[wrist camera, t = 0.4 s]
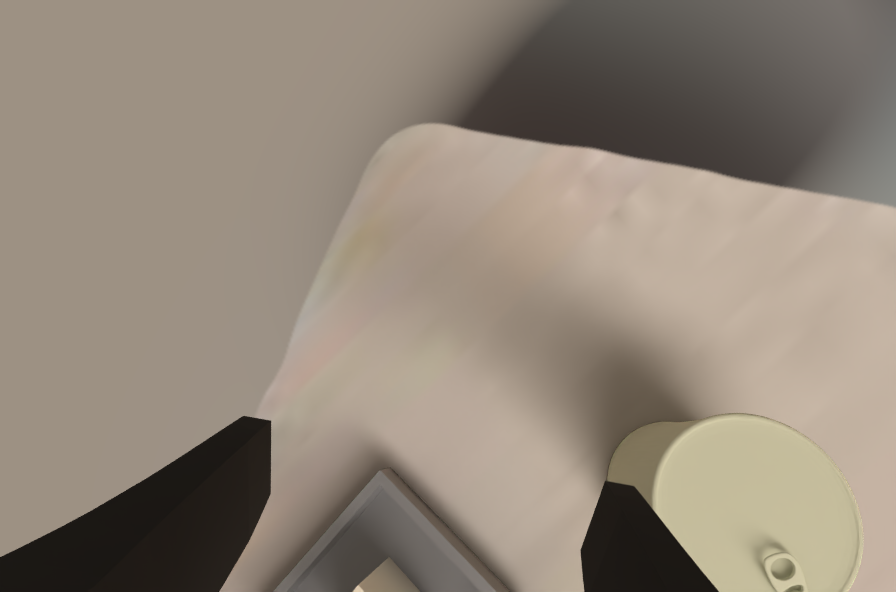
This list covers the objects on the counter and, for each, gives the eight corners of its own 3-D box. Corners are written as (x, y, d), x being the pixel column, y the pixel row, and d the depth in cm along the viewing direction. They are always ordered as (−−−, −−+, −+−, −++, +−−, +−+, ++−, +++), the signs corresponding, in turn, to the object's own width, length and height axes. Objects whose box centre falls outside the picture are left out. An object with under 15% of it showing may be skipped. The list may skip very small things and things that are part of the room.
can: (642, 583, 32) (713, 662, 20) (585, 446, 35) (620, 447, 23) (773, 537, 31) (921, 592, 20) (705, 403, 34) (799, 384, 23)
